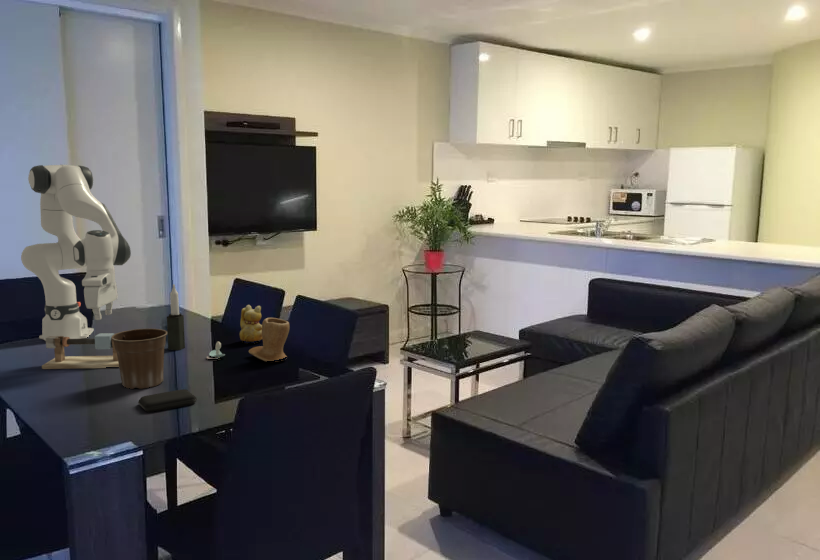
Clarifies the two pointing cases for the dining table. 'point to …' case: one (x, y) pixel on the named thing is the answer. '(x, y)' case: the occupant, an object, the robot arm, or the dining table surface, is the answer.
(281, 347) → the brown clay boot vase
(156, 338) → the plant pot
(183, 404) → the carrying case or bag
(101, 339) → the marker sleeve
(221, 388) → the dining table surface
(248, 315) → the decorative figurine
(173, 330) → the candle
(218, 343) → the pacifier
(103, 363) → the cord stand
